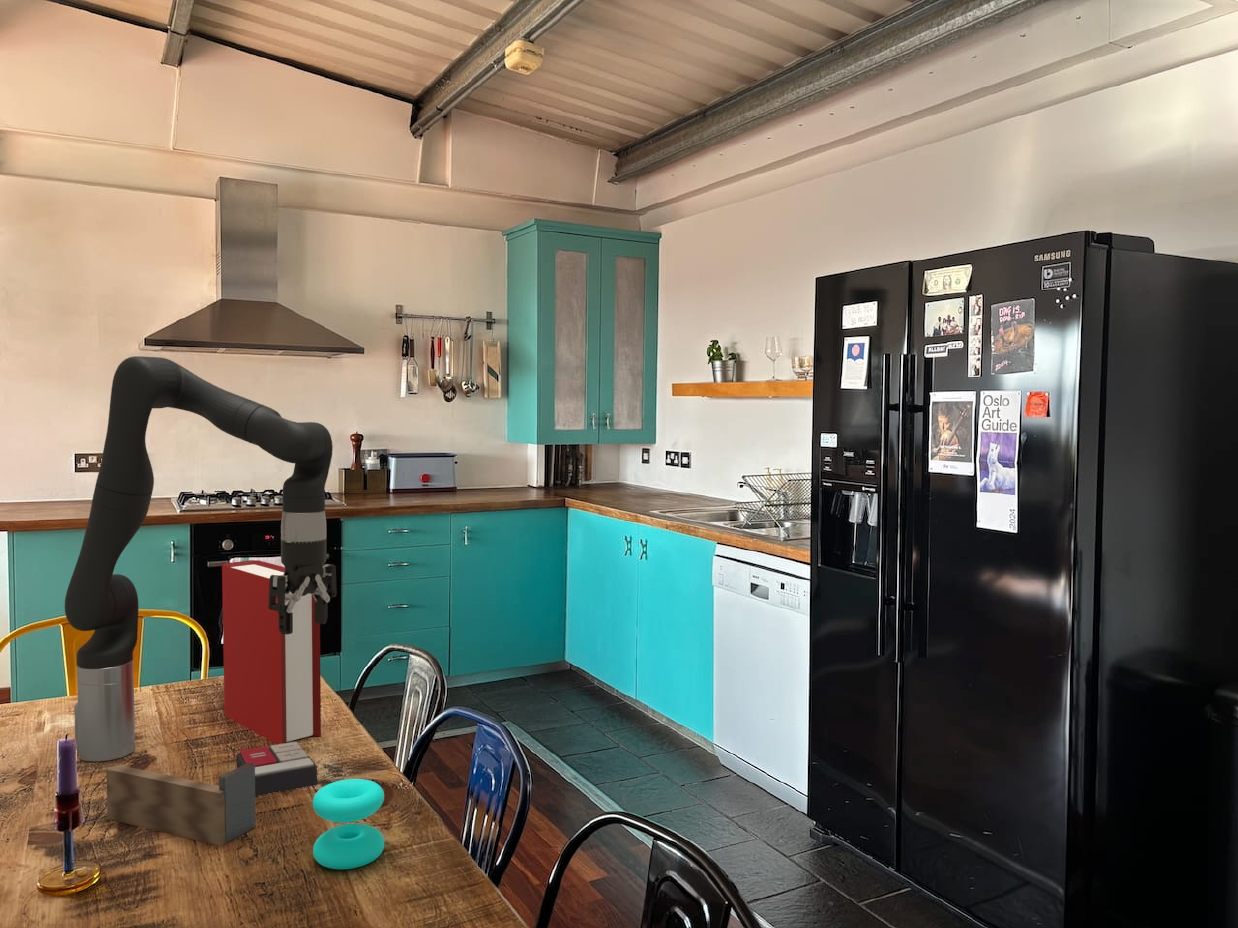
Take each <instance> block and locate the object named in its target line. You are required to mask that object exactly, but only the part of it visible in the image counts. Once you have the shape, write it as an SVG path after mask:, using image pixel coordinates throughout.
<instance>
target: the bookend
mask: <svg viewBox="0 0 1238 928" xmlns="http://www.w3.org/2000/svg"><path fill="white" fill-rule="evenodd" d="M218 786H219V790H223V791H225V832H226V843H225V844H229V842H231V841H233V840H235V839H237V838H239V837H240V836H243V834H245V833H246V834H247V832H249V831H250V830H253V829H254V827H255V828H256V826H257V825H256V823H257V820H256V818H257V817H256V816H257V815H256V797H255V764H253V763H247V764H245V765H243V766H240V767H238V768H237V767H236V768H234V769H231V770H230V771H228V772H225V773H224V774H221V775H219V776H218ZM252 828H253V829H252Z"/></svg>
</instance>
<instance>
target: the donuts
mask: <svg viewBox="0 0 1238 928" xmlns="http://www.w3.org/2000/svg"><path fill="white" fill-rule="evenodd" d="M384 801H385V793H384V789H383V788H382V787H381V785H379V783H376V781H375V782H374V781H372V780H369V779H363V778H348V779H342V780H337V781H334V782H330V783H328V784H326V785H324V786H322V787H320V789H319V790H317V792H316V793H315V794H314V796H313V798H312V807H313V810H314V812H315V814H317V816H318V817H320V818H322V819H323V820H325V821H328V822H332V823H333V822H334V823H344V824H340V825H336V826H334V827H332V828H330V829H328V830H326V831H325V832H323V833H322V834H321V835H319V836H318V838H317V839H316V841H315V842H314V845H313V848H312V853H313V858H314V859H315V860H316V862H317V863H318V864H319V865H321V866H322V867H325V868H327V869H331V870H350V869H351V870H352V869H356V868H360V867H361V868H362V867H363V866H366V865H368V864H370V863H372V862H374V861H375V860H376V859H378V858H379V856H381V855H382V853H383V851H384V848H385V837H384V835H383V833H382V832H381V831H380V830H379V829H377V828H376V827H374V826H373V825H369V824H365V823H360V822H359V823H356V821H361V820H364V819H366V818H369V817H370V816H372V815H373V814H375V813H376V812H377V811H378V810H380V808H381V807H382V806H383V803H384ZM351 822H355V823H351Z"/></svg>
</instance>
